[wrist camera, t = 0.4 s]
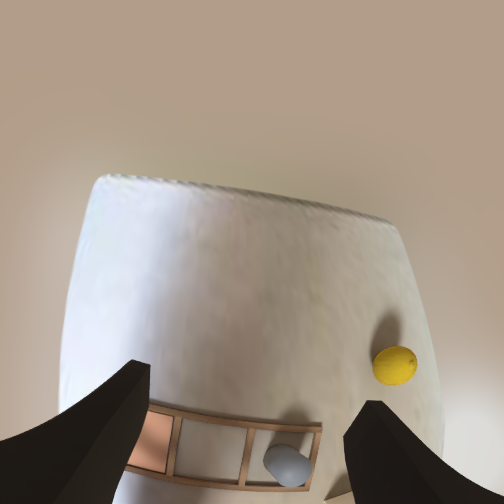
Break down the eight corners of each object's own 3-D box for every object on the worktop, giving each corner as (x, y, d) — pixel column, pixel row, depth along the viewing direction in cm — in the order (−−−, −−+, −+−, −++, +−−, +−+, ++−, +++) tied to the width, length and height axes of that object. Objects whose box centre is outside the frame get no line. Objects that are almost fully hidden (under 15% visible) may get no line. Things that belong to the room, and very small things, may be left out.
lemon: (392, 348, 40) (427, 342, 33) (390, 384, 38) (426, 383, 31) (363, 348, 39) (397, 343, 32) (361, 386, 37) (396, 387, 30)
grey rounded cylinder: (292, 473, 31) (308, 486, 26) (260, 472, 30) (272, 487, 25) (298, 444, 33) (315, 455, 28) (266, 443, 32) (279, 454, 27)
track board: (307, 489, 30) (309, 491, 30) (96, 459, 26) (95, 461, 26) (320, 426, 34) (322, 427, 33) (105, 390, 30) (104, 390, 30)
